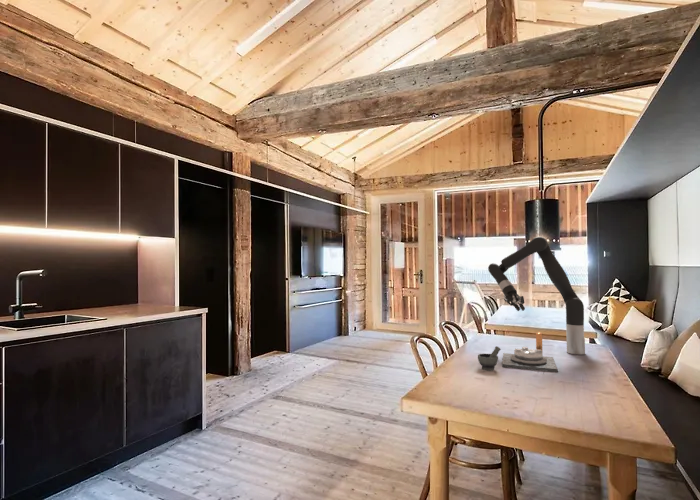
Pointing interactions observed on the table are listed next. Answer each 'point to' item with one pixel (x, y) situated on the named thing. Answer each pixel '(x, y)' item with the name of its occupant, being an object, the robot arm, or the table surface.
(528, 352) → the grey disc with handle
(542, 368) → the base plate
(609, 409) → the table surface
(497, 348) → the mortar and pestle
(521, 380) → the table surface
